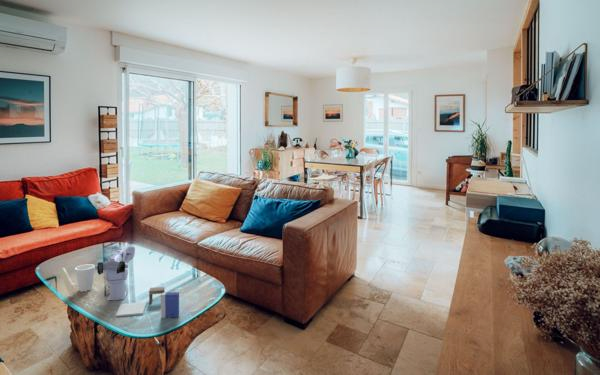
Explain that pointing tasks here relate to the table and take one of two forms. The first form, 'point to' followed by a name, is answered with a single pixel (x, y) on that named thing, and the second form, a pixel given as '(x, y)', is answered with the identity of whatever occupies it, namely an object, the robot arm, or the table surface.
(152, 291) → the brown forked block
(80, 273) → the foam cup
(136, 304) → the mat
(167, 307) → the walkman
